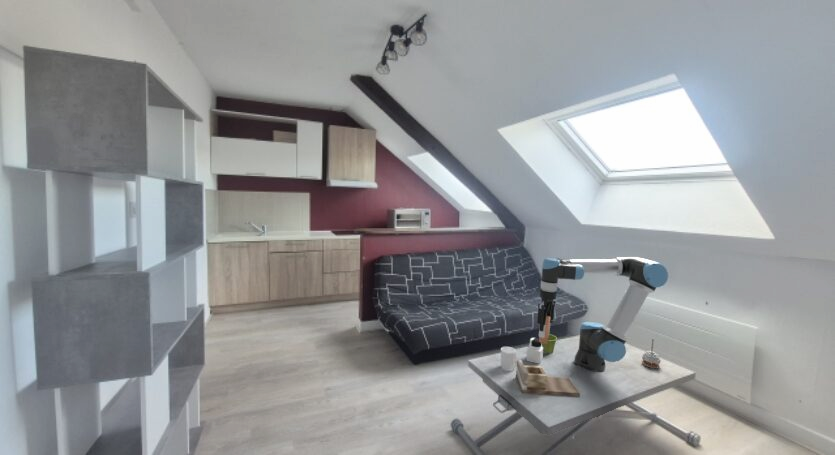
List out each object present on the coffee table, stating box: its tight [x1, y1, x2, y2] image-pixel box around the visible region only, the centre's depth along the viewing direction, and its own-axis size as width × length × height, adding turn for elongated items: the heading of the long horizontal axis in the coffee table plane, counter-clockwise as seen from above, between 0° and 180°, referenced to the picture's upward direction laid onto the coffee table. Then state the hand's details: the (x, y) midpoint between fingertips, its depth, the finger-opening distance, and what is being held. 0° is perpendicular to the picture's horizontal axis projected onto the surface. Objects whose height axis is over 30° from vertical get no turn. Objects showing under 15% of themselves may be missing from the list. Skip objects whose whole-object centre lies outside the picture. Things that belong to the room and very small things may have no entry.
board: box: [515, 359, 581, 397], centre depth 162 cm, size 26×13×10 cm, turn 87°
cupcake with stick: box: [641, 338, 662, 369], centre depth 186 cm, size 8×8×15 cm
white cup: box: [500, 346, 517, 372], centre depth 179 cm, size 8×8×10 cm
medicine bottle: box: [526, 337, 544, 365], centre depth 189 cm, size 7×7×12 cm
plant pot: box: [541, 333, 558, 354], centre depth 200 cm, size 9×9×9 cm
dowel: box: [538, 316, 551, 344], centre depth 169 cm, size 4×4×13 cm
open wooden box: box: [523, 364, 548, 388], centre depth 162 cm, size 9×9×6 cm
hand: (543, 335), depth 169 cm, fingers closed on dowel, 4 cm apart
